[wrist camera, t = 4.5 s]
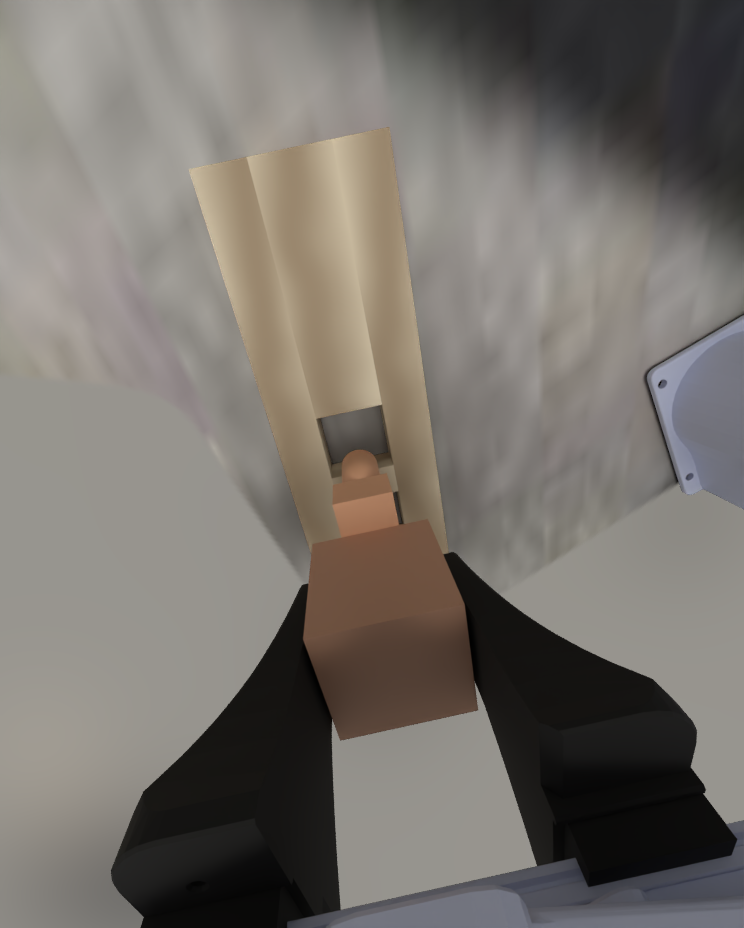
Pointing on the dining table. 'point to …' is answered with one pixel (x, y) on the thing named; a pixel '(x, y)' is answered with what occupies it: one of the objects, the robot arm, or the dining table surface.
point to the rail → (326, 311)
